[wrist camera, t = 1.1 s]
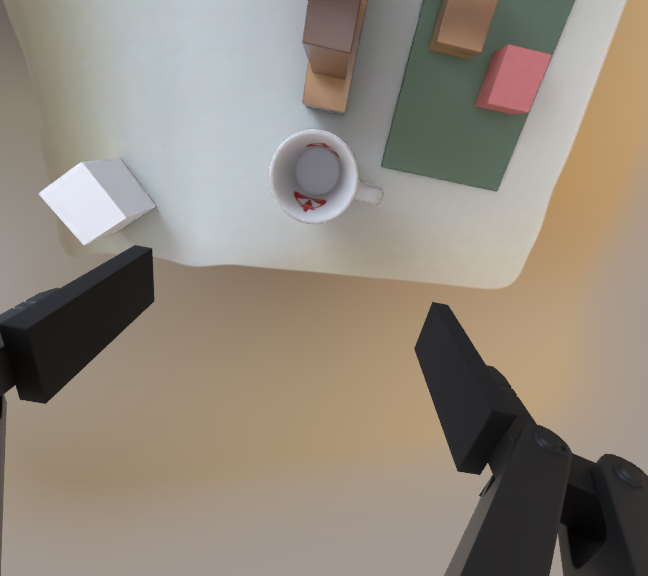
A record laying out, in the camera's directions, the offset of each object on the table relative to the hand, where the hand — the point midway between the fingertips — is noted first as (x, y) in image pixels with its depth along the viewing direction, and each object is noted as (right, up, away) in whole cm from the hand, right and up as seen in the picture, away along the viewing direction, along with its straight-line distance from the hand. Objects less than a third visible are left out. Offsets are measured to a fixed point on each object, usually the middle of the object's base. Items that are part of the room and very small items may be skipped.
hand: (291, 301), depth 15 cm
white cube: (-22, +11, +22) cm, 33 cm away
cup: (+2, +13, +21) cm, 25 cm away
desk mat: (+16, +21, +17) cm, 31 cm away
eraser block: (+19, +20, +16) cm, 32 cm away
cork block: (+14, +25, +14) cm, 32 cm away
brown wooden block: (+3, +24, +15) cm, 29 cm away
